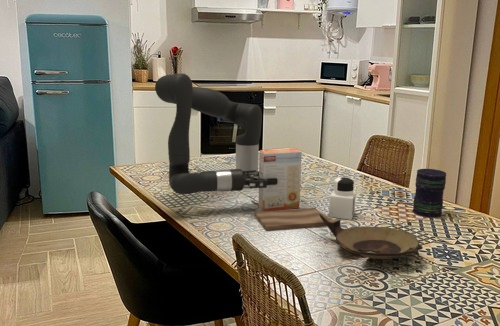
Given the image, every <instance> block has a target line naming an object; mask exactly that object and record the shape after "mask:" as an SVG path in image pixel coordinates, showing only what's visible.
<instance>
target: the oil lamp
mask: <svg viewBox="0 0 500 326" xmlns="http://www.w3.org/2000/svg"><path fill="white" fill-rule="evenodd" d="M320 217H321V219H322V220H323V222H324V223H325V224H326V225H327V226H326V227H327V228H328V229H329V231H330V232H331V233H332V234H333V235H332V236H334V237H335V241H336V243H337V245H338V246H340V247H341V248H342V249H345V250H346V251H349V252H350V253H353V254H356V255H359V256H362V257H363V258H367V259H375V260H389V259H396V258H401V257H405V256H408V255H414V254H418V253H419V251H421V250H423V248H424V247H423V245H421V244H420V241H419V239H418V237H416V236H414V234H411V233H409V232H406V231H404V230H401V229H396V228H392V227H385V226H356V227H355V226H353V227H349V228H343V227H341V219H332V217H329V216H327V215H326V214H325V213H322V212H321V214H320Z"/></svg>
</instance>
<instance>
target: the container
mask: <svg viewBox="0 0 500 326" xmlns="http://www.w3.org/2000/svg"><path fill="white" fill-rule="evenodd" d="M354 184H355V181H354V180H353V179H352V178H349V177H345V176H342V177H341V176H340V177H337V178H335V179H334V181H333V191H332V192H331V194H330V196H329V206H328V207H329V208H328V217H329V218H335V219H340V220H342V219H344V220H349V221H351V220H353V216H354V215H355V211H356V210H355V209H356V197H357V192H356V191H354V186H355V185H354Z"/></svg>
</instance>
